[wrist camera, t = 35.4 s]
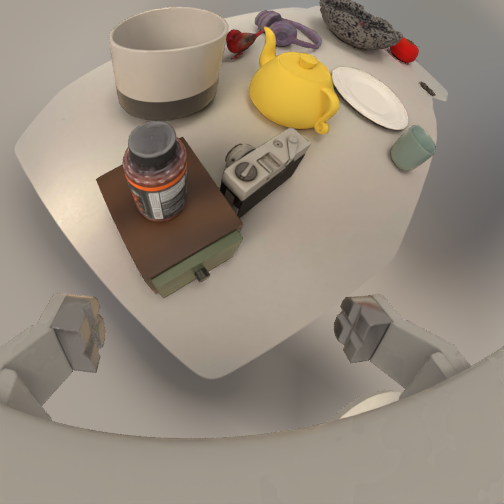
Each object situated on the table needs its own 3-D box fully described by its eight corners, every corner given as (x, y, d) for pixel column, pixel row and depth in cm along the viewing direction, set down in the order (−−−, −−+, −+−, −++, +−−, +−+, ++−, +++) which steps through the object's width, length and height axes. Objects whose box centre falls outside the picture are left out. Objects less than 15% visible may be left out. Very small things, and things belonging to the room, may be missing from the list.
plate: (311, 73, 58) (313, 68, 56) (363, 69, 67) (366, 65, 65) (375, 141, 55) (379, 137, 53) (417, 126, 63) (420, 122, 62)
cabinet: (231, 249, 40) (243, 224, 31) (156, 294, 36) (144, 281, 27) (182, 174, 42) (183, 136, 33) (112, 211, 38) (95, 178, 29)
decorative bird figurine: (215, 64, 52) (221, 30, 43) (256, 43, 58) (265, 16, 49) (224, 68, 52) (231, 34, 43) (264, 47, 58) (274, 19, 49)
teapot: (219, 77, 51) (230, 27, 38) (280, 65, 57) (297, 24, 44) (288, 154, 47) (317, 103, 35) (347, 132, 53) (378, 92, 41)
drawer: (237, 263, 39) (249, 246, 31) (168, 306, 35) (161, 299, 28) (186, 183, 40) (186, 153, 33) (120, 218, 37) (107, 193, 29)
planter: (180, 63, 50) (185, 0, 34) (234, 104, 49) (253, 32, 32) (105, 98, 43) (92, 30, 27) (151, 148, 42) (143, 66, 25)
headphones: (271, 50, 57) (324, 60, 66) (284, 27, 50) (337, 42, 59) (245, 23, 61) (296, 33, 70) (255, 3, 54) (306, 16, 63)
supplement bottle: (129, 191, 29) (108, 127, 19) (173, 170, 31) (171, 103, 21) (148, 233, 28) (128, 178, 18) (195, 210, 30) (200, 148, 20)
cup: (380, 153, 54) (405, 128, 45) (395, 144, 57) (418, 121, 47) (402, 180, 53) (429, 157, 44) (414, 169, 56) (440, 148, 47)
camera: (259, 146, 47) (275, 108, 37) (292, 177, 46) (315, 143, 37) (199, 188, 42) (202, 149, 32) (234, 224, 41) (247, 192, 32)
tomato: (413, 71, 80) (426, 54, 69) (389, 56, 78) (402, 38, 67) (406, 58, 84) (418, 42, 73) (382, 44, 82) (394, 28, 71)
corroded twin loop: (433, 98, 75) (435, 96, 74) (418, 84, 76) (420, 83, 75) (434, 94, 77) (435, 93, 76) (420, 81, 77) (421, 80, 76)
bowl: (351, 26, 81) (364, 3, 67) (397, 69, 75) (416, 45, 61) (293, 16, 71) (305, -13, 57) (342, 60, 65) (362, 26, 51)
